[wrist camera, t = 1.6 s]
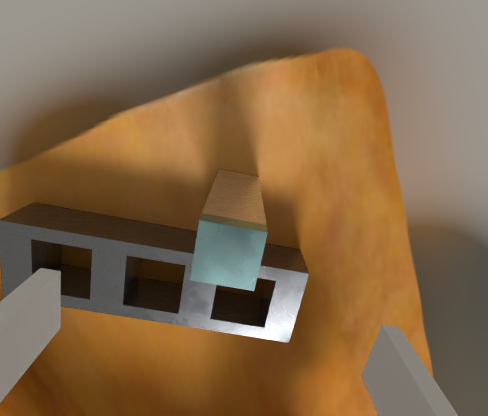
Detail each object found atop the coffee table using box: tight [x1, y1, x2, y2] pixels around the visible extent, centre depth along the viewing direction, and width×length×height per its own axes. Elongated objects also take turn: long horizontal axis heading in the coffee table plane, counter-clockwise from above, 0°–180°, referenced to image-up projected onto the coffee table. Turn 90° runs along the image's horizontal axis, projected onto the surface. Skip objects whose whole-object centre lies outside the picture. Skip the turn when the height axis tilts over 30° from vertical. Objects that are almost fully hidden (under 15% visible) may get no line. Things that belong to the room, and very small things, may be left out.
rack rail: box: [0, 203, 309, 343], centre depth 32 cm, size 8×28×5 cm, turn 79°
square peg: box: [190, 169, 268, 291], centre depth 26 cm, size 4×4×14 cm
